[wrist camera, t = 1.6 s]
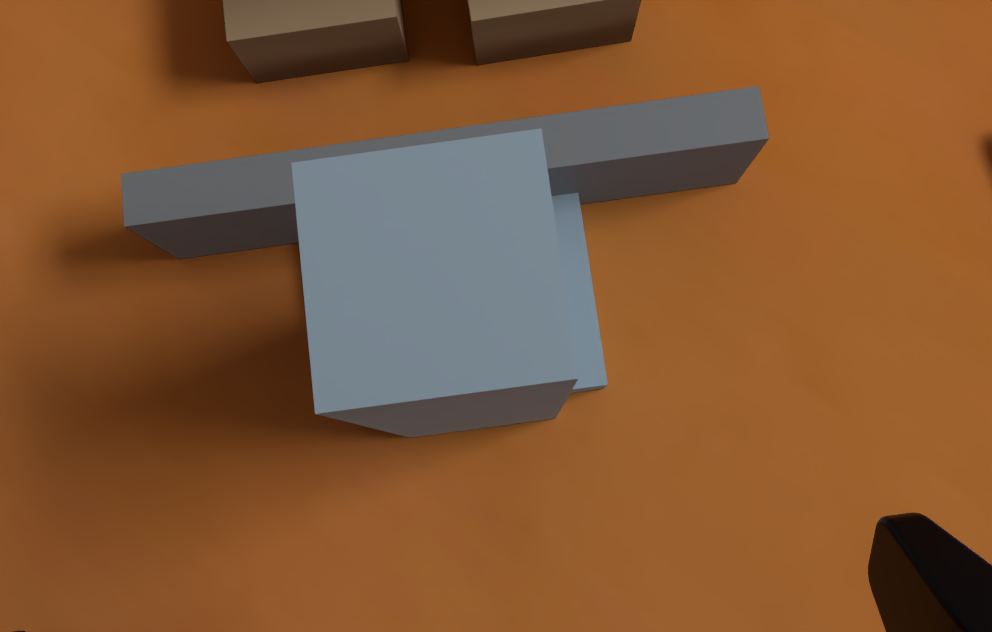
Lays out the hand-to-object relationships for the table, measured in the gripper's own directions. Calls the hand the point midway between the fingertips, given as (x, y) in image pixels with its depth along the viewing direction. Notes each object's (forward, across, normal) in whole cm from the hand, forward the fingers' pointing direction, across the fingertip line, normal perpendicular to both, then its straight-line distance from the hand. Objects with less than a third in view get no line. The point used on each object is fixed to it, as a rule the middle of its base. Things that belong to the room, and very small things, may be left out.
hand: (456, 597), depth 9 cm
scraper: (+12, 0, +4) cm, 13 cm away
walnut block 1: (+18, +3, -2) cm, 18 cm away
